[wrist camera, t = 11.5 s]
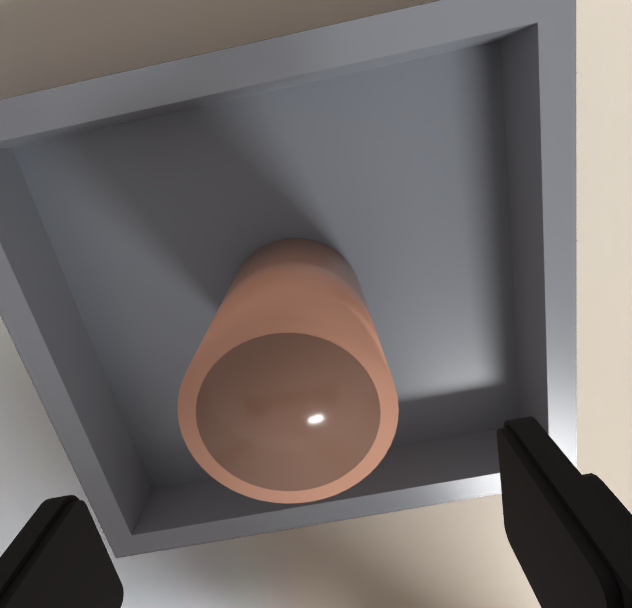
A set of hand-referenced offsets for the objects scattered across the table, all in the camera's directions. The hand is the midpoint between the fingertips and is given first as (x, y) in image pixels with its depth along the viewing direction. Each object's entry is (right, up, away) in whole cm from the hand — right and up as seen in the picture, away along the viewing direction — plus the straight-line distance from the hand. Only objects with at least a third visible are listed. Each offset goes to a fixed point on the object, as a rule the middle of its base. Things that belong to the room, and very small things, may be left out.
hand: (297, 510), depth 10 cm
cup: (0, +5, +11) cm, 12 cm away
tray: (0, +5, +12) cm, 13 cm away
